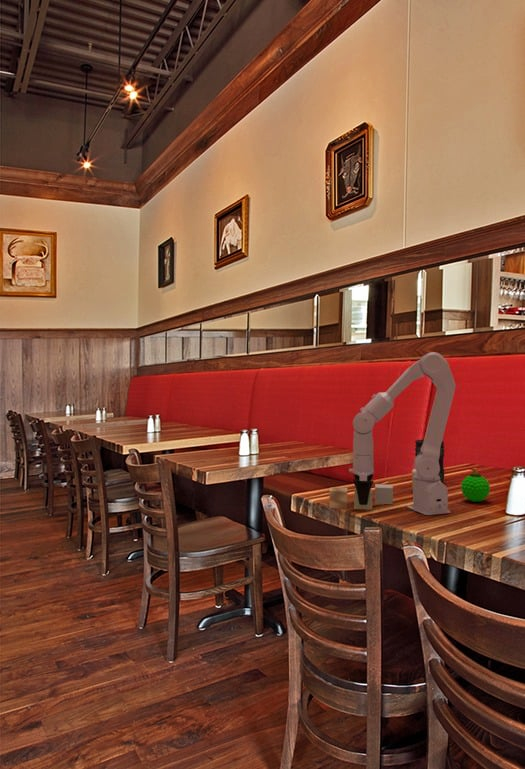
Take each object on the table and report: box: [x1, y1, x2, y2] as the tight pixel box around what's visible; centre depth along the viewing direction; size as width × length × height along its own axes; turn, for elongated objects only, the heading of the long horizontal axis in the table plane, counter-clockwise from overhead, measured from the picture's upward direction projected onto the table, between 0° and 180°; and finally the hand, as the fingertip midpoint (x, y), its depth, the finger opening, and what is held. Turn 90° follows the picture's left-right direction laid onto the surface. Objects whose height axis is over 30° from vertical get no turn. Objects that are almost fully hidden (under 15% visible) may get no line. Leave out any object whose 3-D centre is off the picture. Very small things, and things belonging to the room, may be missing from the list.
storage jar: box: [414, 439, 445, 485], centre depth 190 cm, size 10×10×15 cm
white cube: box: [374, 483, 394, 505], centre depth 162 cm, size 5×5×5 cm
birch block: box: [328, 487, 349, 510], centre depth 157 cm, size 5×5×5 cm
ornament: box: [460, 467, 491, 503], centre depth 162 cm, size 8×8×10 cm
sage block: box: [353, 487, 373, 511], centre depth 156 cm, size 5×5×5 cm
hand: (363, 501), depth 156 cm, fingers open, 7 cm apart
